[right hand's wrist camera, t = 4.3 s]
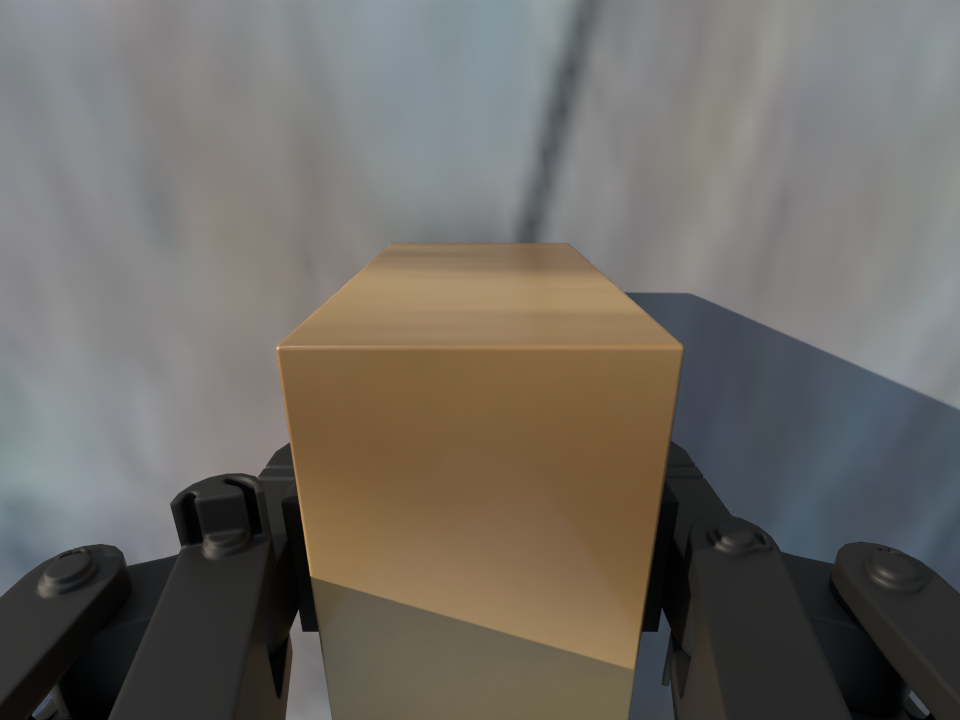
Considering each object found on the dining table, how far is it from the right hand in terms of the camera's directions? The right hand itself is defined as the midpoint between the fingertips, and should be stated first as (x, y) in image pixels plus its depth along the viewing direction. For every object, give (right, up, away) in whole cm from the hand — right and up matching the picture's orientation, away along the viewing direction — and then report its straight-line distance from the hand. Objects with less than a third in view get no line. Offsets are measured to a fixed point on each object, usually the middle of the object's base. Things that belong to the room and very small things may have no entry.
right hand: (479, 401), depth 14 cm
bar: (0, -8, +4) cm, 9 cm away
